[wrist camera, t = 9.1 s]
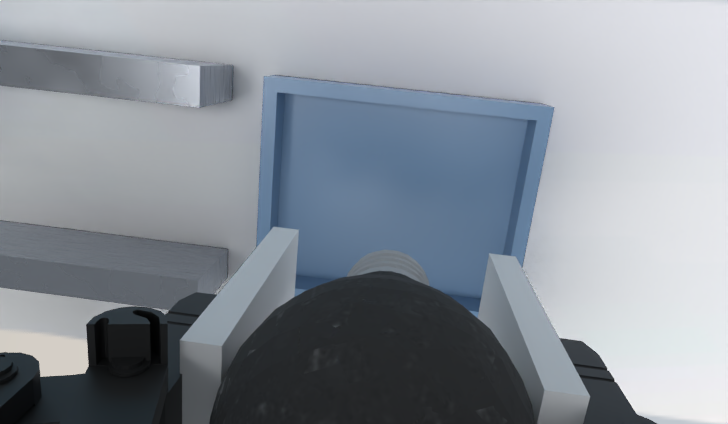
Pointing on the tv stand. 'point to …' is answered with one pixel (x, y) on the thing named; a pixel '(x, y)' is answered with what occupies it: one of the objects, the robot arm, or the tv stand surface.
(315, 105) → the parts tray
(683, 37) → the tv stand surface
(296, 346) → the black round speckled part
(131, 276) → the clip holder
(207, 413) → the robot arm
